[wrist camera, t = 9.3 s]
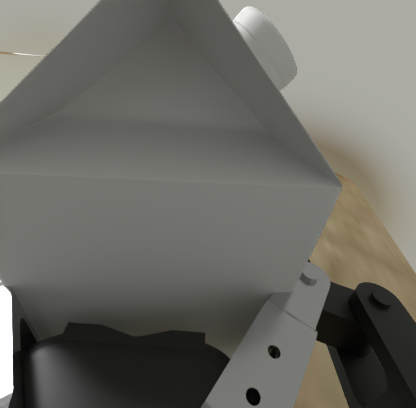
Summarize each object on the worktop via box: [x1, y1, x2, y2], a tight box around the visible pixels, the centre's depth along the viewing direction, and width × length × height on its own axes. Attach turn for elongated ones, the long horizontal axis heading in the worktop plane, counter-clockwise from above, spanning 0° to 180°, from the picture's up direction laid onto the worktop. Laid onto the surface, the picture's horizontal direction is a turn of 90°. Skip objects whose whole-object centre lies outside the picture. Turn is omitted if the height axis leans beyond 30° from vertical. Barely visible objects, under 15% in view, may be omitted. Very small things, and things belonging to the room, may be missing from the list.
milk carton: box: [0, 0, 343, 359], centre depth 10 cm, size 7×7×19 cm
